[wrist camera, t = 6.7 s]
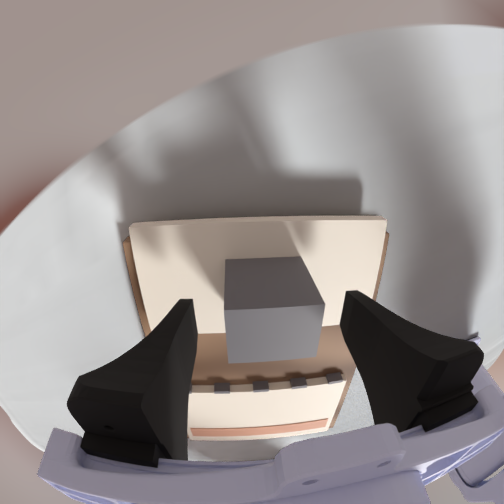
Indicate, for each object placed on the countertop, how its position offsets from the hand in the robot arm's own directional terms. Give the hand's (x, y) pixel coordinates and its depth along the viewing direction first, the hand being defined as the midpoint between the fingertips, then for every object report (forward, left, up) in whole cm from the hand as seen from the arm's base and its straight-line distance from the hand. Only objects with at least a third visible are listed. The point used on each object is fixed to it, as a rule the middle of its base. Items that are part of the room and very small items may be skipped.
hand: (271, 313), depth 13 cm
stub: (0, 0, -4) cm, 4 cm away
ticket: (-14, 0, -4) cm, 15 cm away
